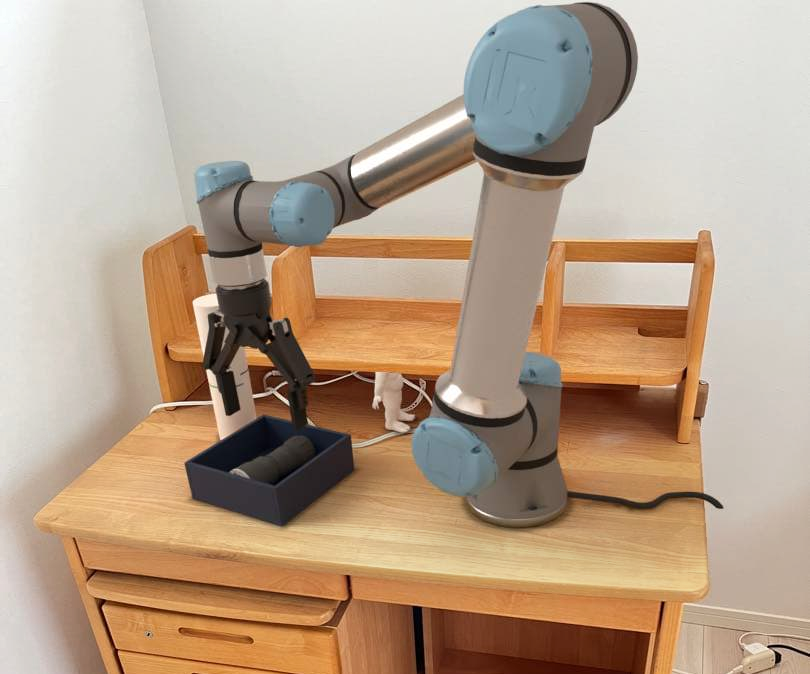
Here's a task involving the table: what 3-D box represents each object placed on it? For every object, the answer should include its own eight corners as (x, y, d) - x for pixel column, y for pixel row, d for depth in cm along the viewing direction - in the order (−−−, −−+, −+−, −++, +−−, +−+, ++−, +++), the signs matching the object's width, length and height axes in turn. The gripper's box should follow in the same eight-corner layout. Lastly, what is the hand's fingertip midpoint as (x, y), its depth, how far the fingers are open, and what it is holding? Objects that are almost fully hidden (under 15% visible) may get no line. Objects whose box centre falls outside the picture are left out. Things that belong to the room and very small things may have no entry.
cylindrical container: (266, 430, 151) (244, 295, 137) (243, 447, 146) (217, 308, 132) (235, 424, 154) (210, 291, 140) (211, 440, 149) (183, 304, 135)
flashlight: (296, 457, 141) (292, 428, 138) (320, 464, 138) (316, 435, 135) (230, 496, 130) (225, 466, 127) (255, 505, 128) (249, 475, 125)
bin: (354, 470, 137) (351, 434, 133) (281, 526, 123) (275, 488, 120) (269, 448, 145) (263, 414, 142) (192, 498, 132) (183, 462, 128)
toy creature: (406, 440, 145) (402, 376, 138) (372, 438, 146) (367, 375, 139) (419, 411, 154) (415, 350, 148) (387, 410, 156) (383, 349, 149)
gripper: (327, 282, 113) (345, 423, 124) (195, 268, 125) (222, 398, 136) (294, 298, 108) (315, 443, 119) (159, 282, 119) (190, 416, 131)
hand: (266, 419), depth 128 cm, fingers open, 13 cm apart
